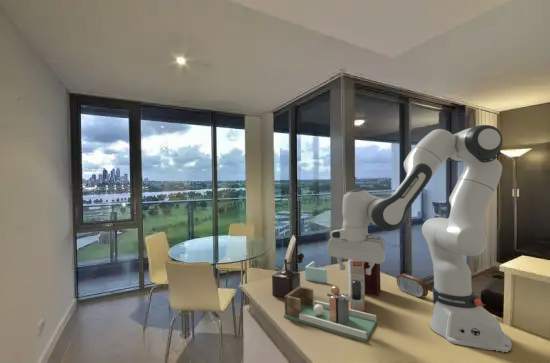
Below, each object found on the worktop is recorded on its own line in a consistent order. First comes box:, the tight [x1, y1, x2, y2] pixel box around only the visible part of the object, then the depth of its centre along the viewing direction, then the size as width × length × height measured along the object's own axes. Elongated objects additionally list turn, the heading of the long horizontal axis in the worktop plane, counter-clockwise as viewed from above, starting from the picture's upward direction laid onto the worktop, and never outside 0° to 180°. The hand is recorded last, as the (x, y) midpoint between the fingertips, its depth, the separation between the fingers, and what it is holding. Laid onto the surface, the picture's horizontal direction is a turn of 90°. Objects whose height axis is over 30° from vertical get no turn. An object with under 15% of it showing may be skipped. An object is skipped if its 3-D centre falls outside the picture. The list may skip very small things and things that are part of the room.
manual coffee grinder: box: [271, 252, 305, 299], centre depth 132 cm, size 16×11×18 cm
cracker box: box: [347, 259, 366, 313], centre depth 116 cm, size 14×6×21 cm, turn 168°
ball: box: [313, 304, 324, 315], centre depth 106 cm, size 4×4×4 cm
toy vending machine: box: [364, 233, 382, 297], centre depth 131 cm, size 9×11×28 cm
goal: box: [284, 285, 314, 318], centre depth 110 cm, size 7×12×7 cm, turn 146°
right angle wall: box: [304, 260, 328, 284], centre depth 150 cm, size 12×12×8 cm
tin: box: [396, 273, 429, 299], centre depth 126 cm, size 15×3×8 cm, turn 25°
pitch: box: [283, 292, 377, 343], centre depth 103 cm, size 32×14×10 cm, turn 56°
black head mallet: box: [327, 280, 363, 322], centre depth 100 cm, size 13×6×15 cm, turn 56°
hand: (355, 272), depth 97 cm, fingers open, 8 cm apart
